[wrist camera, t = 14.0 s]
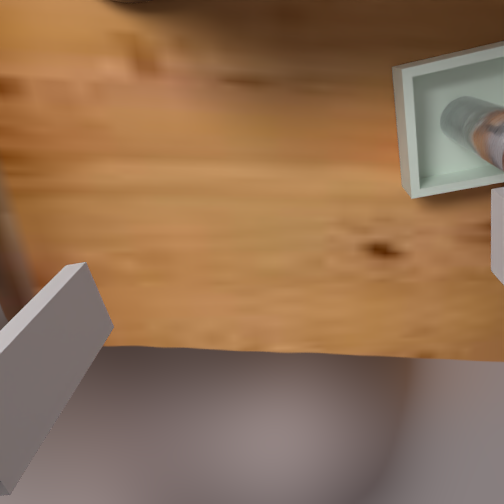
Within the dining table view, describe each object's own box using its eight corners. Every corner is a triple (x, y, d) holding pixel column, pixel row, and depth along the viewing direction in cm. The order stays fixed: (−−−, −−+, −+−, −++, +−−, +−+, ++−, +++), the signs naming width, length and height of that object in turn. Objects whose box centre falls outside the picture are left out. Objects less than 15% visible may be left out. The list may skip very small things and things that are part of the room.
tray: (391, 66, 40) (401, 69, 36) (527, 35, 38) (552, 34, 34) (402, 186, 45) (411, 198, 41) (523, 163, 43) (544, 174, 39)
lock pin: (435, 98, 40) (511, 129, 26) (488, 87, 39) (594, 112, 26) (437, 148, 42) (509, 200, 28) (488, 137, 41) (587, 186, 27)
